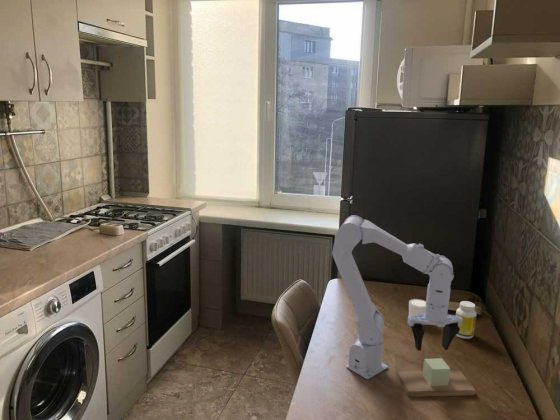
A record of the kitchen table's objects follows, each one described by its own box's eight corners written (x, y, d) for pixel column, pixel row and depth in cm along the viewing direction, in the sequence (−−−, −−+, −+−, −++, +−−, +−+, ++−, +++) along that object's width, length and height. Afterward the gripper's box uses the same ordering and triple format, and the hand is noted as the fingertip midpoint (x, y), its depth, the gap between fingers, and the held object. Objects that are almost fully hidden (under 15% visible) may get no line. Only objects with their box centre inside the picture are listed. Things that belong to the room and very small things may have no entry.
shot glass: (419, 315, 167) (421, 297, 165) (431, 324, 160) (433, 306, 159) (403, 318, 165) (404, 299, 163) (414, 327, 158) (416, 308, 157)
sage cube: (430, 386, 123) (432, 369, 122) (422, 375, 128) (424, 358, 127) (448, 385, 124) (450, 368, 123) (439, 374, 129) (441, 358, 128)
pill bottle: (475, 340, 151) (479, 309, 148) (455, 338, 152) (459, 306, 149) (471, 331, 157) (475, 301, 154) (452, 329, 158) (456, 298, 155)
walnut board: (474, 395, 123) (475, 390, 122) (408, 396, 121) (408, 391, 121) (459, 375, 131) (459, 370, 131) (397, 376, 130) (397, 371, 130)
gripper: (416, 309, 119) (411, 357, 122) (470, 308, 121) (463, 355, 124) (406, 297, 126) (401, 343, 129) (457, 297, 127) (451, 342, 131)
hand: (431, 348), depth 127 cm, fingers open, 7 cm apart
